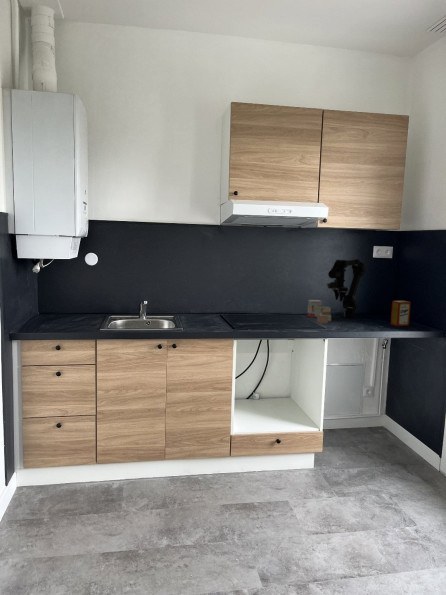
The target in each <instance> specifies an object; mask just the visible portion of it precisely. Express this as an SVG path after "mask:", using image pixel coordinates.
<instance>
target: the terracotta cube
mask: <svg viewBox="0 0 446 595" xmlns="http://www.w3.org/2000/svg"><path fill="white" fill-rule="evenodd" d="M316 318H317V319H316V323H318V324H328V323H329V321H328V316H327V315H317V317H316Z"/></svg>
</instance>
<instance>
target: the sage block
mask: <svg viewBox="0 0 446 595" xmlns="http://www.w3.org/2000/svg"><path fill="white" fill-rule="evenodd" d="M319 315H322V314H319ZM327 316H328V322H331V321H332V314H330V315H327Z"/></svg>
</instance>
